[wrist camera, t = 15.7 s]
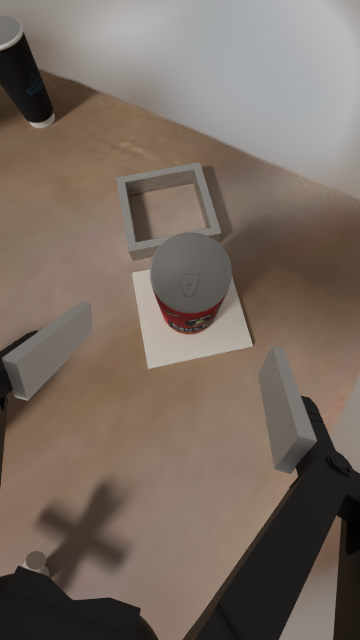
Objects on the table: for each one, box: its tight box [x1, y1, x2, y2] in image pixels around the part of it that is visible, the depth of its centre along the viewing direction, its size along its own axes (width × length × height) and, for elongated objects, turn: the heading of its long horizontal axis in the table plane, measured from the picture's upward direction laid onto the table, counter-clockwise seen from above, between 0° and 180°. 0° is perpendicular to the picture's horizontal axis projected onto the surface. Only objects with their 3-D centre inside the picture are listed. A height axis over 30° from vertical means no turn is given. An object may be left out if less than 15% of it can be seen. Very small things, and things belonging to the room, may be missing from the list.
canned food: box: [150, 233, 232, 335], centre depth 25 cm, size 8×8×11 cm
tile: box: [132, 269, 253, 369], centre depth 31 cm, size 14×14×1 cm
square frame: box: [116, 162, 221, 261], centre depth 34 cm, size 13×13×2 cm
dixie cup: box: [0, 15, 55, 128], centre depth 37 cm, size 8×8×11 cm
